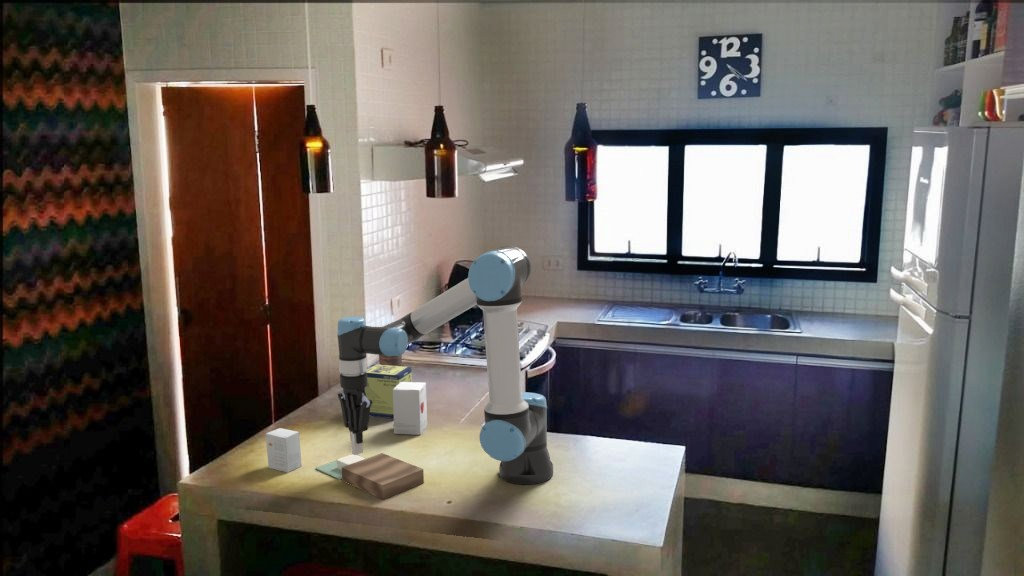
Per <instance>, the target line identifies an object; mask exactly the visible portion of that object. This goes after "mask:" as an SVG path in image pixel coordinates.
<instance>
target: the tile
mask: <svg viewBox="0 0 1024 576" xmlns="http://www.w3.org/2000/svg"><path fill="white" fill-rule="evenodd" d="M358 455H359V454H357V455H353V454H352V453H351V454H349V455H346V456H343V457H341V458H337V459H336V460H337V468H338V469H341V470H342V467H344V466H347V465H350V464H353V463H355V462H358V461H361V460H364V459H365V458H366V457H365V458H363V457H364V456H362V455H360V456H358ZM361 456H362V457H361Z"/></svg>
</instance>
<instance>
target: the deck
mask: <svg viewBox="0 0 1024 576" xmlns="http://www.w3.org/2000/svg"><path fill="white" fill-rule="evenodd" d="M341 481H342V482H343V481H344V483H345V482H347V483H346V484H348V483H349V484H348V485H350V484H351V485H350V486H352V485H353V486H352V487H354V486H355V488H356V487H357V489H359V490H361V489H362V490H361V491H363V492H365V491H366V492H365V493H368V494H370V495H372V496H374V497H377V498H379V499H381V500H386V499H388V498H390V497H392V496H395V495H397V494H400V493H403V492H405V491H408V490H411V489H413V488H415V487H417V486H420V485H422V484H424V483H425V480H424V468H421V467H420V466H419V467H418V466H416V465H413V464H411V463H410V462H407V461H404V460H402V459H398V458H396V457H394V456H391V455H388V454H385V453H384V452H381V453H379V454H376V455H373V456H370V457H367V459H364V460H361V461H358V462H355V463H353V464H350V465H347V466H344V467H342V480H341Z"/></svg>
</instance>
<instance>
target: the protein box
mask: <svg viewBox="0 0 1024 576" xmlns="http://www.w3.org/2000/svg"><path fill="white" fill-rule="evenodd" d="M366 373H367V379H368V384H367V386H366V387H365V392H366V398H367V399H368V400H372V405H371V407H370V414H369V417H376V418H377V417H378V418H387V419H394V411H393V389H394V388H395V387H396V386H397V385H398V384H399V383H400V382H413V379H412V378H413V377H412V376H413V375H412V367H411V366H402V365H401V366H389V365H380V364H376V363H375V364H373V363H372V364H371V365H369V366H367V371H366Z"/></svg>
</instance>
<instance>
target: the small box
mask: <svg viewBox="0 0 1024 576" xmlns="http://www.w3.org/2000/svg"><path fill="white" fill-rule="evenodd" d="M265 443H266V453H267V455H266V456H267V466H268V468H269V469H272V470H277V471H281V472H284V473H290V472H292V471H294V470H296V469H298V468H300V467H302V452H301V451H302V450H301V441H300V432H299V431H296V430H292V429H291V430H290V429H286V428H282V427H281V428H280V427H279V428H278V427H277V428H276V429H274V430H271V431H268V432H266V433H265Z"/></svg>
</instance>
